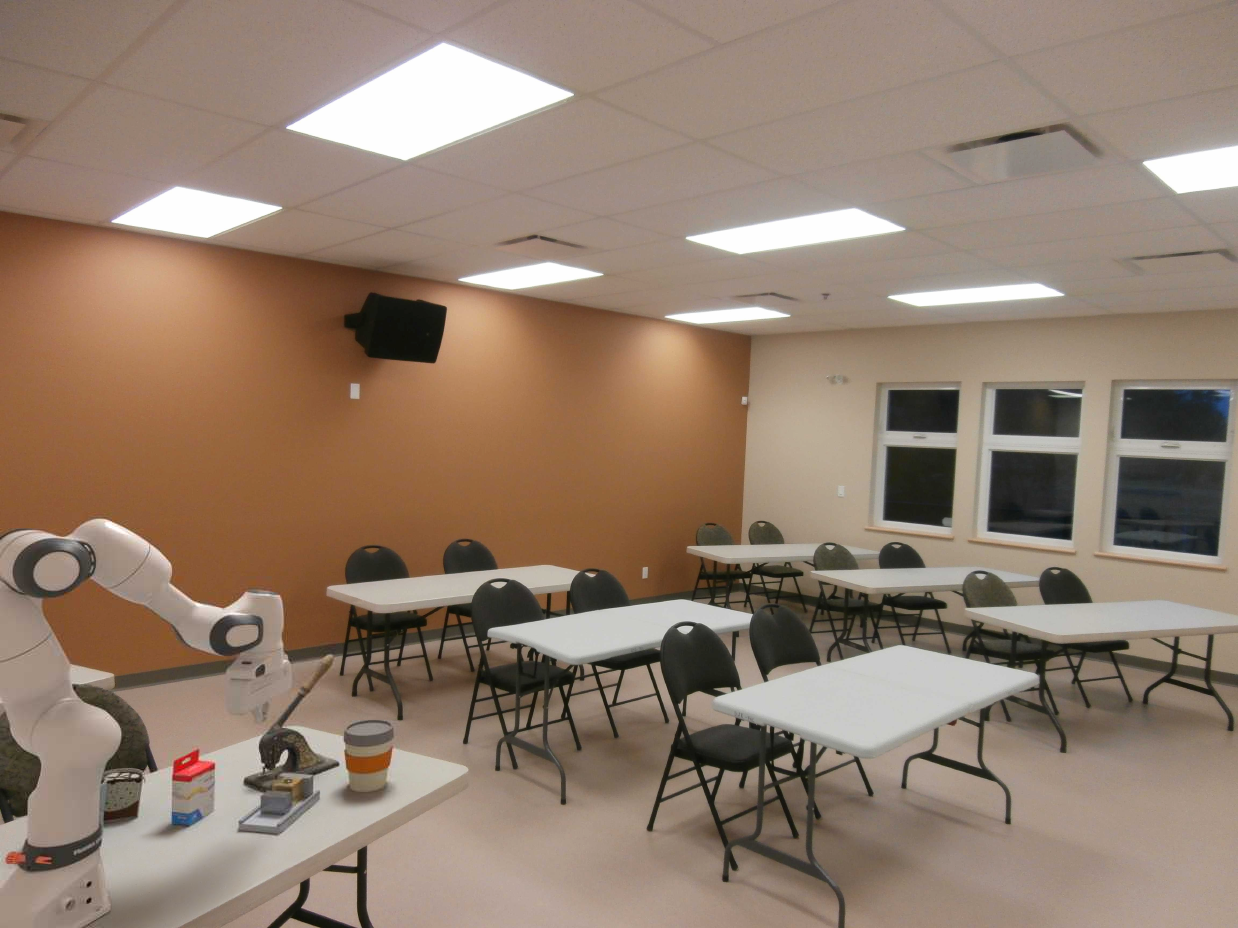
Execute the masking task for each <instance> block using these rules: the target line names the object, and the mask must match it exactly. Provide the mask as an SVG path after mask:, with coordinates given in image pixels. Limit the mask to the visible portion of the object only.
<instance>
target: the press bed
mask: <svg viewBox="0 0 1238 928" xmlns="http://www.w3.org/2000/svg"><path fill="white" fill-rule="evenodd" d="M283 777H297V778H303V799H301V800H300V801H299V802H298V803H297V804H296V805H294V806H293V807H291V810H290V811H288V812H287V813H286V814H285V815H281V814H269V813H260V807H261V803H260V804H259V805H258V806H256V807H255V808H253V809H252V810H251V811H249V813H247V814H246V815H245V816H243V817H241V818H240V820H238V831H244V832H245V831H246V832H258V833H268V834H278V835H279V834H281V833H282V832H284V831H285V830H286V829H287V828H288V827H289V826H290V825H292V823H294V822H295V821H296V820H298V818H300V817H301V816H302V815H303V814H304V813H306V812H307V811H308V810H309V809H310V808H311V807H312V806H313V805H315V804H316V803H317V802H318V801H319V800H321V790H319V789H318V790H317V789H316V790H315V791H314V775H306V774H293V773H282V774H281V775H279V777H278V781H279V780H280V779H281V778H283Z"/></svg>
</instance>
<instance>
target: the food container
mask: <svg viewBox="0 0 1238 928" xmlns="http://www.w3.org/2000/svg"><path fill="white" fill-rule="evenodd" d="M103 776H104V777H105V778H106V779H107V785H106V794H105V803H104V817H103V823H108V822H115V821H122V820H123V821H124V820H131V819H137V818H139V811H140V810H139V809H140V804H141V795H142V786H143V783H144V784H146V782H147V781H146V777H145V774H144V772H143V770H141V769H138V768H135V767H134V768H133V767H131V768H130V767H129V768H128V767H124V768H123V767H122V768H115V769H110V770H106V771H104V773H103Z"/></svg>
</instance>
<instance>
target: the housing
mask: <svg viewBox="0 0 1238 928" xmlns="http://www.w3.org/2000/svg"><path fill="white" fill-rule="evenodd" d="M272 791H282V792H292V803H291V807H293V806H294V805H296V804H297V803H298V802H299V801H300V800H301V799H303V778H297V777H283V778H281V779H280V780H279V781H277V782H276V783H275V784H273V789H272Z"/></svg>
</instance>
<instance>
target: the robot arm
mask: <svg viewBox="0 0 1238 928" xmlns="http://www.w3.org/2000/svg"><path fill="white" fill-rule="evenodd" d="M172 567H173V566H172V564H171V562H170V560H168V559H167V557H166V556H165V555H164V554H163V553H162V552H161V551H160V550H159V549H157V548H156V547H155V546H153V545H152V544H151V543H150V542H148V541H147V540H146V539H144V538H142V537H141V536H140V535H138V534H136V533H134V532H133V531H131V530H129V529H128V528H126V527H124V526H122V525H120V524H118V523H115V522H113V521H111V520H109V519H104V518H93V519H90V520H88V521H85V522H84V523H82V524H81V525H79V526H78V527H77V528H76V529H74V531H73V532H72V533H70V534H68V535H66V536H59V535H56V534H55V533H51V532H47V531H42V530H38V529H34V528H18V529H12V530H9V531H7V532H5V533H2V534H1V535H0V699H1V702H2V704H3V707H4V710H5V714H6V716H7V720H8V723H9V729H10V733H11V736H12V738H13V739H14V740H15V741H16V743H17V744H18V745H19V746H20V747H21V749H23V750H24V751H26V752H28V753H29V754H32V755H33V756H36V757H37V758H39V760H40V766H41V768H40V772H39V773H40V774H39V777H38V781H37V784H36V788H35V789H33V791H32V792H31V794H29V796H28V798H27V799H28V800H27V832H26V833H27V834H26V835H27V836H26V837H27V838H26V839H25V841H24V843H23V845H22V847H21V848H22V849H21V850H20V852H17V851H9V852H8V853H7V854H6V856H5V860H4V861H5V864H6V865H14V866H15V865H17V867H16V868H15V870H14V871H13V872H12V873H11V874H10V876H9V878H7V879H6V881H5V882H4V884H3V885H2V886H1V888H0V928H84V927H86V926H87V925H88V924H89V925H90V924H91V923H92V922H94V921H95V920H97V919H99V918H100V917H102V916H105V915H106V914H108V913H109V912H110V911H112V905H111V902H110V900H109V892H108V891H109V890H108V888H107V884H106V875H105V868H104V863H103V859H102V855H101V850H100V849H101V845H102V843H103V834H104V833H102V825H101V823H100V822H99V806H100V786H101V781H102V776H103V773H104V772H105V770H106V766H107V763H108V761H109V760H110V759H111V758H113V756H114V755H115V754H116V752H117V751H118V749H119V746H120V745H121V740H122V729H121V727H120V725H119V723H118V722H117V720H115V718H114V717H113V716H112V715H110V713H108V712H107V711H106V710H105V709H103V708H101V707H97V706H95V705H93V704H89V703H87V702H84V701H83V699H81V697H79V696H78V695H77V693H76V692H75V690H74V687H73V684H72V680H71V677H70V670H71V662H70V660H69V659H68V656H67V655H66V653H65V651H64V650H63V648H62V646H61V644H60V642H59V640H58V638H57V637H56V634H55V633H54V631H53V629H52V628H51V625H50V624H49V622H48V621H47V619H46V618H45V616H44V615H45V614H44V612H43V606H42V603H43V599H45V600H46V599H54V598H58V597H59V598H60V597H62V596H65V595H66V594H69V593H71V592H72V591H73V590H75V589H77V587H79V586H80V585H81V584H82V583H84V582H85V581H87V580H88V579H91V580H93V581H94V582H96V584H97V583H98V585H100V586H101V587H103V588H104V589H106V590H107V591H109V592H110V593H113V594H114V595H116V596H118V597H119V598H122V599H124V600H127V601H129V602H132V603H135V604H138V605H143V606H144V607H146V608H148V609H149V610H150V611H152V612H153V613H155V615H157V616H159V617H160V618H161V619H163V621H166V622H167V623H168V624H169V625H170V627H171V628H172V630H173V631H174V634H175V636H176V637H177V639H178V641H180V643H181V644H182V645H184V646H185V647H187V648H189V649H193V650H199V651H204V652H206V653H209V654H213V655H217V656H220V657H232V656H235V655H238V654H240V655H238V656H237V658H236V659H235V660H234V661H233V662H232V664H231V665H230V666H228V667H227V669H226V670H225V674H226V675H225V676H226V678H227V679H229V680H228V682H227V685H226V696H225V697H226V710H227V712H228V713H229V715H232V716H245V715H246V714H248V713H249V712H251V714H252V716H253V724H255V725H260V724H262V723H264V722H265V721H267V720H268V719H269V713H270V709H271V706H272V704H273V699H275V698H276V697H278V696H280V695H282V694H284V693H286V692H288V691H289V690H290V689H291V687H292V684H293V675H292V667H291V666H292V665H291V662H290V661H289V655H288V654H287V653H285V651H284V643H283V642H284V641H283V638H282V636H283V635H282V634H283V632H284V625H285V623H284V621H285V619H284V615H285V614H284V606H283V605H284V604H283V600H282V597H281V595H280V594H278V593H277V592H275V591H272V590H271V591H270V590H263V589H249V590H246V591H245V592H244V593H243V595H242V596H241V597H240V598H239V599H238V600H236V601H234V602H233V603H231V604H230V605H228V606H227V607H224V608H223V607H219V606H218V607H217V606H216V605H213V604H210V603H208V602H207V603H205V602H198V601H194V600H192V599H191V598H190V597H188V596H187V595H186V594H184V593H183V592H182V591H181V590H179V589H178V588H176V587H175V586H174V585H173V584H171V583H170V581H171V579H172V575H173V568H172Z"/></svg>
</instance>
